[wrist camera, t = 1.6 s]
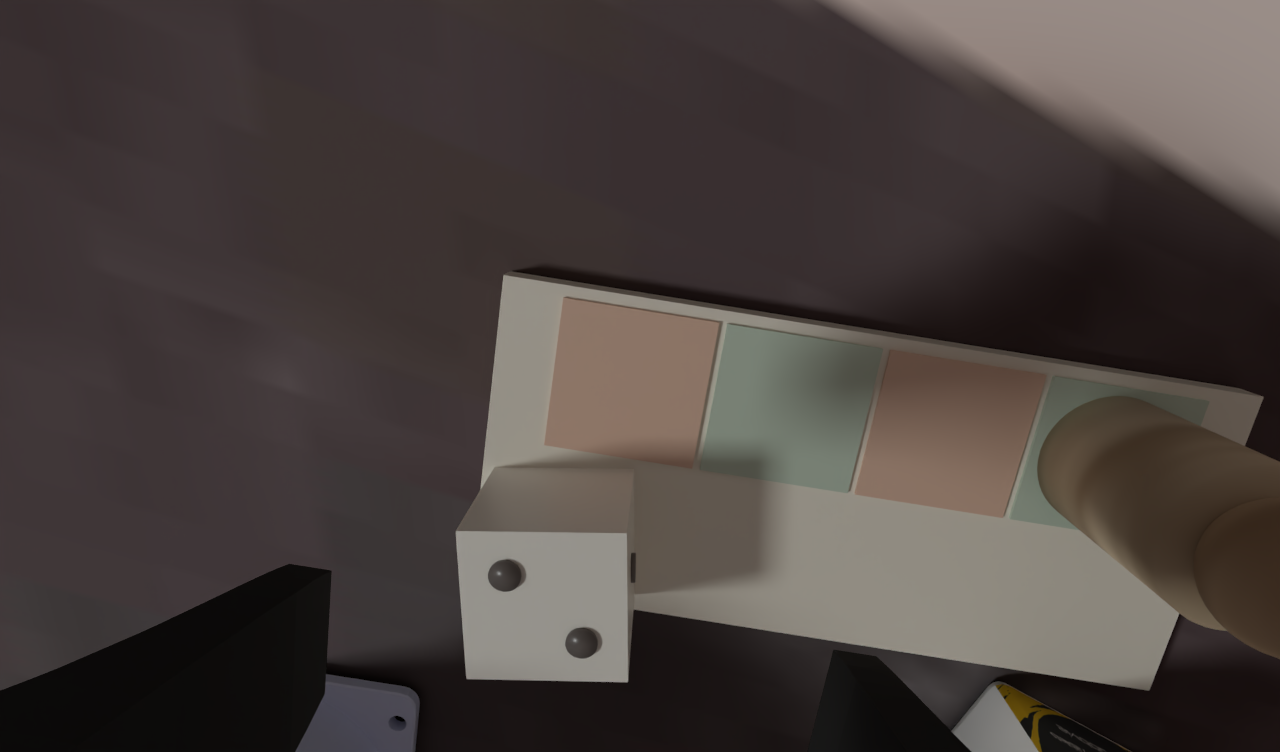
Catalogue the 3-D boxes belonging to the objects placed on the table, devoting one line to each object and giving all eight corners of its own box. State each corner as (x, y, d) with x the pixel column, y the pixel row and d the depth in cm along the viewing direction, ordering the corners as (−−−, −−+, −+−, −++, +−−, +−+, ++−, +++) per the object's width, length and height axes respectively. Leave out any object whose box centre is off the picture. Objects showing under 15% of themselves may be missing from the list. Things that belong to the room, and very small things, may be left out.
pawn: (1152, 534, 19) (1429, 733, 12) (1020, 513, 19) (1221, 700, 12) (1198, 407, 18) (1525, 544, 11) (1060, 385, 18) (1302, 508, 11)
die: (638, 594, 20) (632, 685, 16) (501, 592, 20) (465, 682, 16) (638, 468, 19) (631, 535, 15) (494, 467, 19) (454, 533, 15)
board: (1131, 672, 21) (1151, 693, 20) (477, 568, 21) (469, 585, 20) (1239, 388, 19) (1267, 398, 18) (510, 271, 18) (503, 275, 18)
